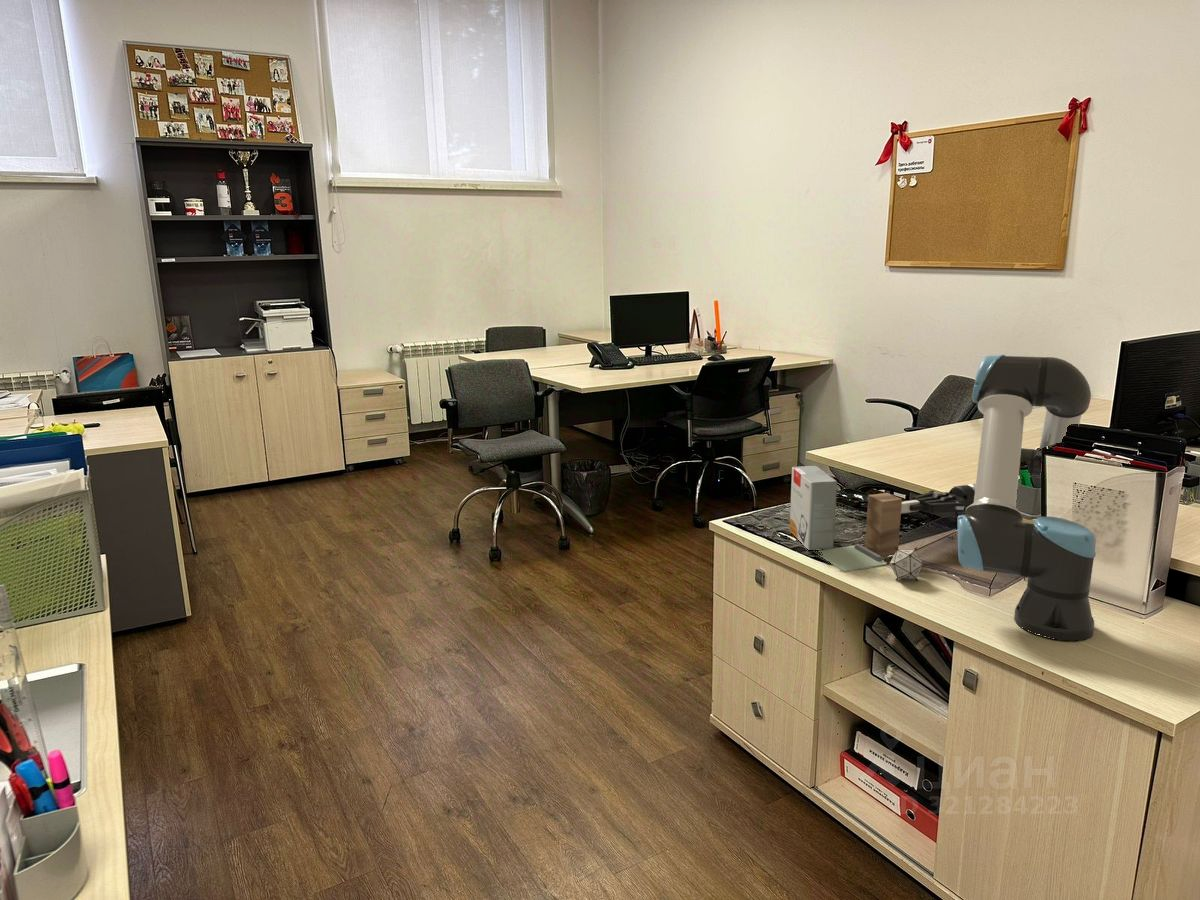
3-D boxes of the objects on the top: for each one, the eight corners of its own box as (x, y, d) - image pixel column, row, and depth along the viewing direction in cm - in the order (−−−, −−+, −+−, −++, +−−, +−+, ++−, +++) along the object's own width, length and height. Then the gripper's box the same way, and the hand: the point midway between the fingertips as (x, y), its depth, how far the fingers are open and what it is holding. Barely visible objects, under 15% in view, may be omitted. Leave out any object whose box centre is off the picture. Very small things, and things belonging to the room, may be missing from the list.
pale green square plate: (887, 564, 210) (887, 559, 209) (844, 572, 206) (844, 566, 205) (854, 546, 223) (855, 541, 222) (813, 553, 219) (813, 547, 218)
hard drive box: (788, 532, 235) (791, 466, 230) (813, 530, 235) (817, 465, 230) (807, 551, 220) (810, 481, 215) (834, 550, 220) (838, 480, 216)
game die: (907, 590, 203) (927, 556, 204) (917, 592, 195) (938, 557, 195) (875, 570, 205) (896, 537, 205) (884, 571, 196) (905, 537, 197)
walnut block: (897, 556, 215) (902, 499, 211) (878, 559, 214) (882, 501, 210) (883, 548, 221) (887, 492, 217) (864, 551, 219) (868, 495, 215)
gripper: (985, 518, 219) (912, 529, 212) (950, 504, 231) (881, 514, 224) (987, 491, 217) (914, 501, 210) (953, 479, 229) (882, 488, 222)
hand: (897, 508), depth 217 cm, fingers closed
